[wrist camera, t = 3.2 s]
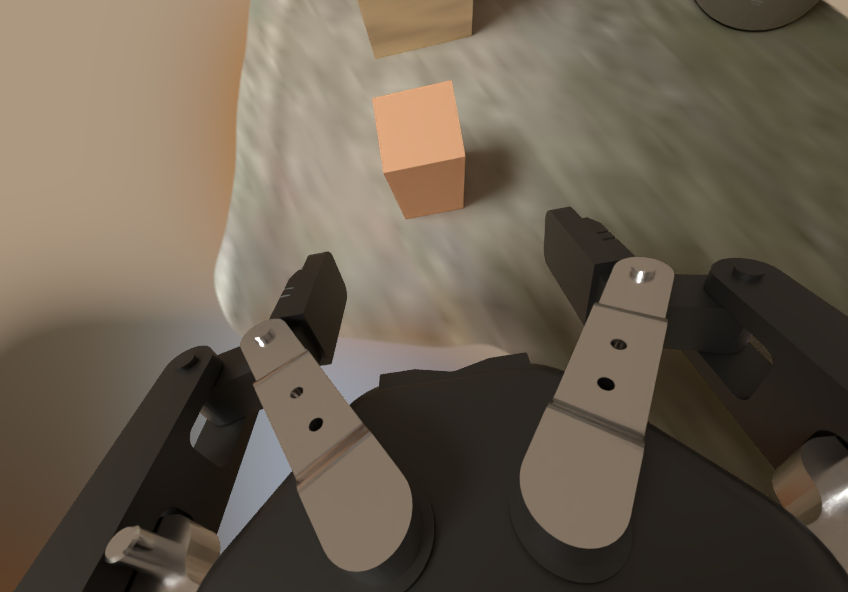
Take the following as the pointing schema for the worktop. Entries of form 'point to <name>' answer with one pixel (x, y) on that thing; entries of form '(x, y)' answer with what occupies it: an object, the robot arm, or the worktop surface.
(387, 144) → the peach block
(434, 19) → the oak tower block
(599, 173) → the worktop surface
